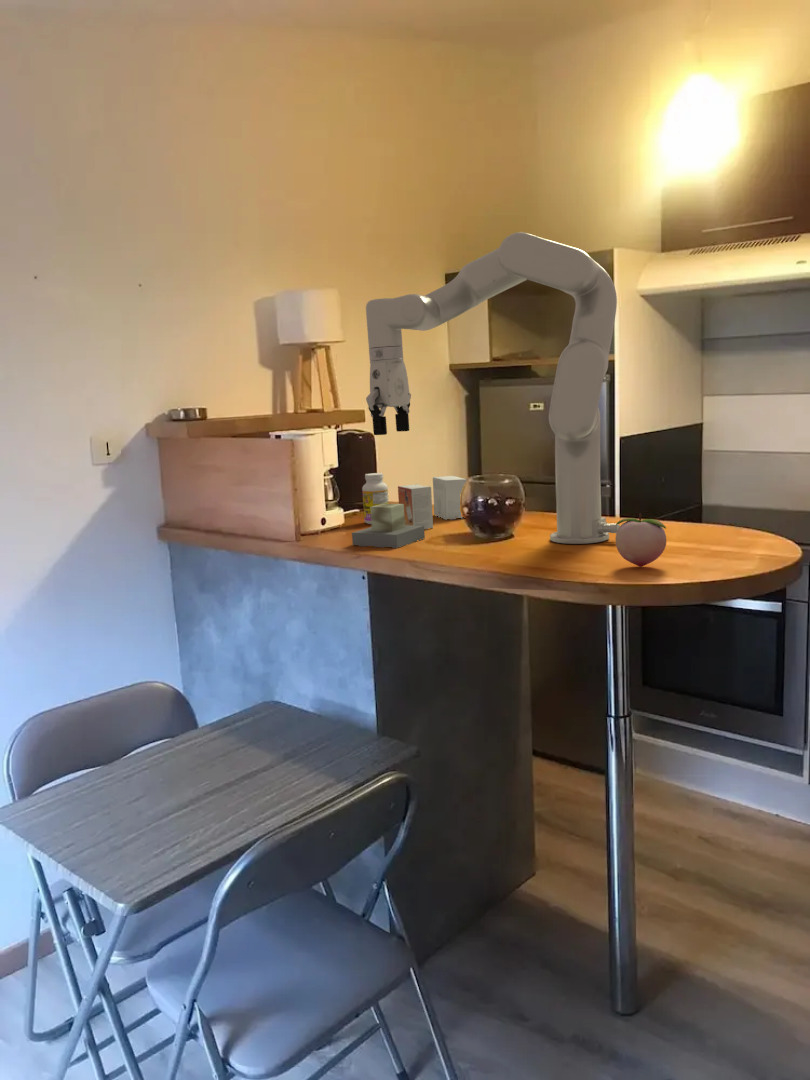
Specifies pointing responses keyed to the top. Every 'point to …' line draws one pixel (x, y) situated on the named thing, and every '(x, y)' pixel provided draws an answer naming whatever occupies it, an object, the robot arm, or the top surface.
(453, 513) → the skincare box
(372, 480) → the supplement bottle
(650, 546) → the decorative fruit
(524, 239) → the robot arm
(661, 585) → the top surface
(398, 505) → the cube
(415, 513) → the small box
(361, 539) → the plinth
